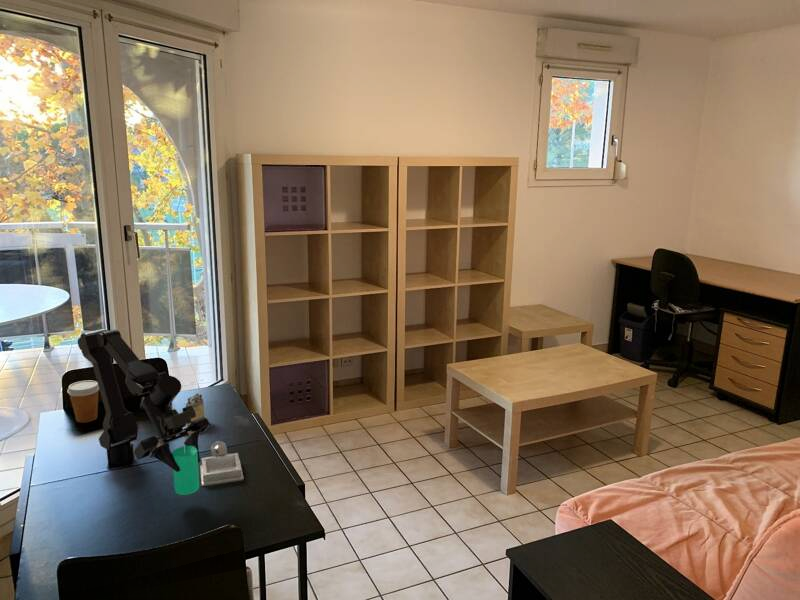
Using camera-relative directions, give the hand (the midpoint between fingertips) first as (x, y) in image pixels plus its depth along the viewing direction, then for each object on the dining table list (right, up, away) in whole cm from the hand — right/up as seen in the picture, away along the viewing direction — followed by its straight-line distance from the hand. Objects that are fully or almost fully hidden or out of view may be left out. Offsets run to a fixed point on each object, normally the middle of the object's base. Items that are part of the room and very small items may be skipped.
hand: (188, 466), depth 152 cm
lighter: (-15, +1, +48) cm, 50 cm away
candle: (-1, -6, +2) cm, 7 cm away
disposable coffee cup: (-52, +2, +51) cm, 72 cm away
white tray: (+2, -6, +21) cm, 22 cm away
